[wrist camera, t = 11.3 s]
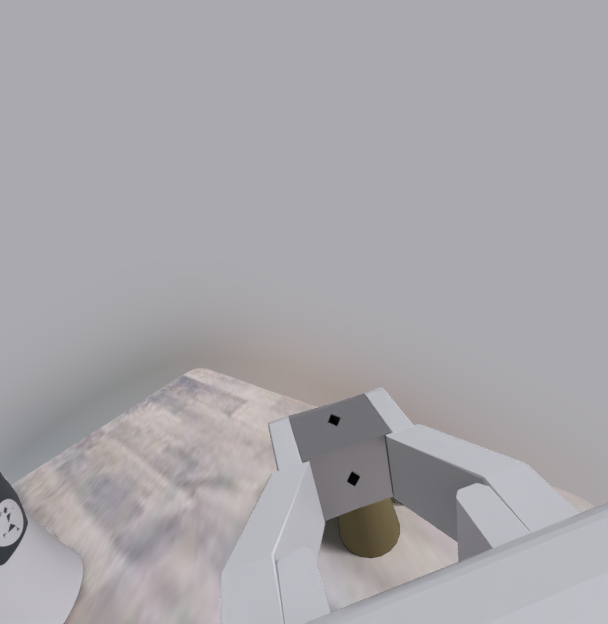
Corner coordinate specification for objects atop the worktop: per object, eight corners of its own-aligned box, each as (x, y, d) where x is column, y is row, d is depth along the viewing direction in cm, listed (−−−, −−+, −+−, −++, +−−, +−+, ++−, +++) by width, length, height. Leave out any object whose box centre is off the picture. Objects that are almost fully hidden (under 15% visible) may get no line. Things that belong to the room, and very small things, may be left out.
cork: (364, 572, 32) (344, 482, 28) (327, 522, 37) (305, 440, 33) (413, 531, 34) (401, 443, 30) (372, 490, 39) (357, 409, 35)
